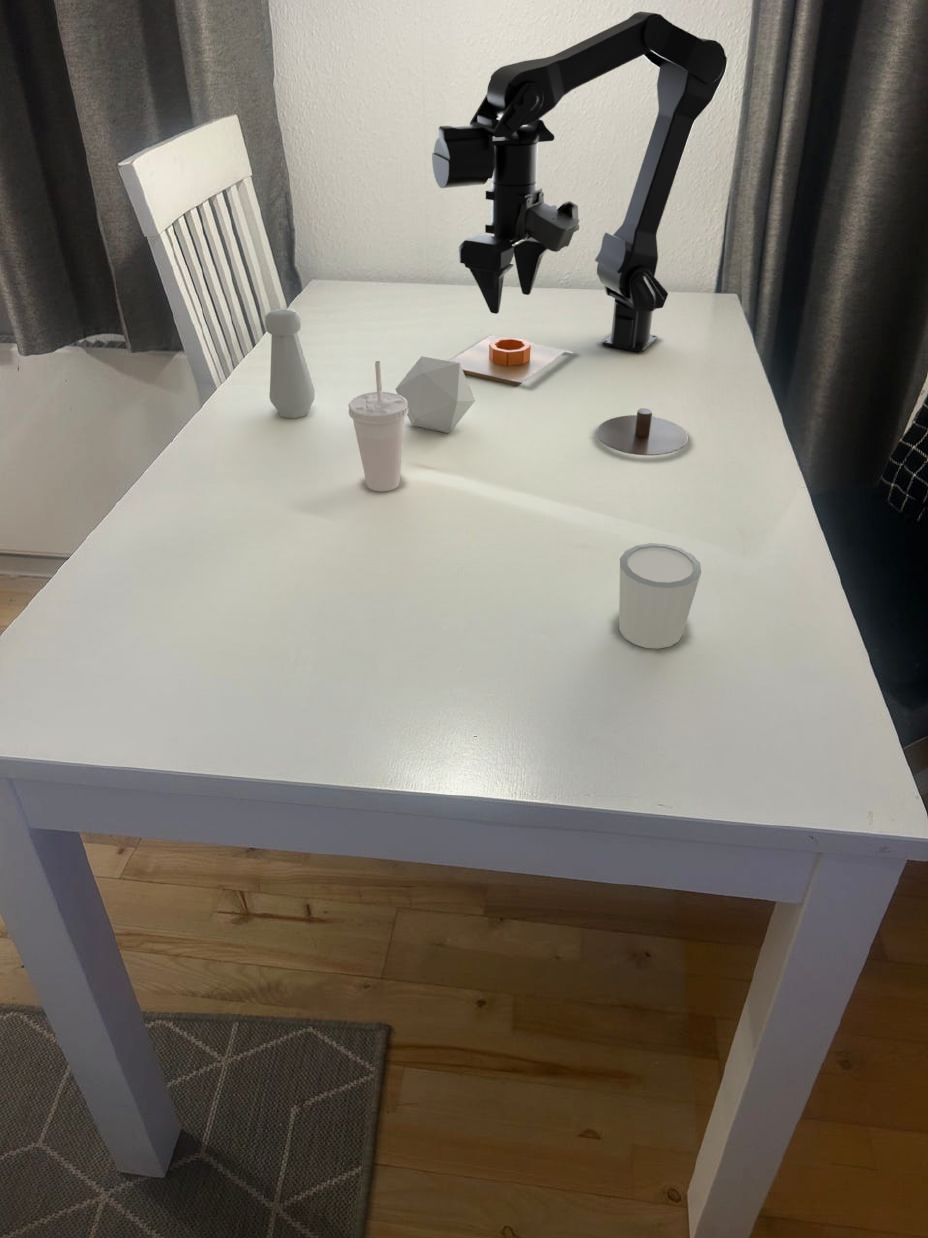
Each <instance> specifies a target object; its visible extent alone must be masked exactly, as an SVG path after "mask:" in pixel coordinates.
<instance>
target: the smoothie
mask: <svg viewBox="0 0 928 1238" xmlns="http://www.w3.org/2000/svg"><path fill="white" fill-rule="evenodd" d="M374 368H375V383H376V391H371V392H365V393H362V394H359V395H357V396H354V397H353V398H352V399H350V401H349V402H348V416H349V418H351V419H352V421H353V427H354V431H355V436H356V441H357V446H358V449H359V455H360V460H361V464H362V469H363V473H364V478H365V483H366V486H367V489H369V490H372V491H374V492H380V493H381V492H390V491H394V490H395V489H397V488H398V487H399V486H400V483H401V482H400V481H401V471H402V469H401V468H402V457H403V445H404V436H405V435H404V434H405V422H406V421H405V420H406V416H407V413H408V405H407V400H406V399H405V398H404V397H402V396H400V395H398V394H397V393H395V392H389V391H383V384H382V367H381V361H380V360H376V361H374Z"/></svg>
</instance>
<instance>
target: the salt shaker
mask: <svg viewBox="0 0 928 1238" xmlns="http://www.w3.org/2000/svg"><path fill="white" fill-rule="evenodd" d="M264 325H265V330H266V332H267V333H268V334H270V335H271V342H270V343H271V344H270V373H269V374H270V375H269V376H270V379H269V401H270V403H271V404H272V405H273V407H274V408H275V410H276V411H277V412H278V414H279V415H280V418H286V419H293V420H294V419H298V418H302V417H303V418H304V417H306V416H308V414H309V412H310V410H311V407H312V405H313V403H314V401H315V395H316V390H315V386H314V383H313V380H312V377H311V374H310V371H309V367H308V364H307V360H306V357H305V353H304V351H303V347H302V344H301V342H300V341H301V340H300V338H299V334H298V333H299V332H300V331H301V326H302V321H301V315H300V314H299V313H298V312H297V311H295V310H294V309H290V308H278V309H277V308H276V309H273V310H271V311H269V312H267V314H266V315H265V319H264Z"/></svg>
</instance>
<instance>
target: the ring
mask: <svg viewBox="0 0 928 1238" xmlns="http://www.w3.org/2000/svg"><path fill="white" fill-rule="evenodd" d="M529 343H530V342H528V340H525V339H521V338H518V337H503V338H500V339H496V340H494V341H493V342H491V343H490V344H489V358H490V359H491V361H492V362H494V363H496V364H500V365H505V366H507V365H508V366H511V365H521V364H524V363H525V362H527V361H528V360H530V349H531V345H530V344H529Z"/></svg>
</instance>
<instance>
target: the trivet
mask: <svg viewBox="0 0 928 1238" xmlns="http://www.w3.org/2000/svg"><path fill="white" fill-rule="evenodd" d="M500 338H504V336H503V337H501V336H497V335H493V334H490V335H489V336H487V337H485V338H484V339H482V340H480V341H478V343H476V344H474V345H472V346H471V347H469V348H468V349H465V351H463V352H462V353H460V354H458V355H456V356H455V357H454V358H452V359H450V360H449V361H450V362H456V363H460V365H461V368H462V370H463V373H464V375H468V376H472V377H476V378H480V379H484V380H489V381H494V382H498V383H502V384H507V385H511V386H516V387H519V386H521V385H522V384H523V383H525V382H527V380H529V379H530V378H532V377H534V375H535V374H537V373H538V372H540V371H541V370H542V369H544V368H545V367H547V366H548V365H549V364H551V363H553V361H554V360H556V359H558V358H559V357H560V356H562V355H563V354H564V353H568V354H569V353H570V354H575V351H571V350H566V349H562V348H558V347H557V348H556V347H552V346H546V345H542V344H537V343H532V342H528V343H529V344H530V345H531V349H530V360H528V361H527V362H525V363H524V364H521V365H511V366H508V365H507V366H505V365H500V364H496V363H494V362H492V361H491V359H490V358H489V344H490V343H491V342H493V341H494V340H496V339H500Z"/></svg>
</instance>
